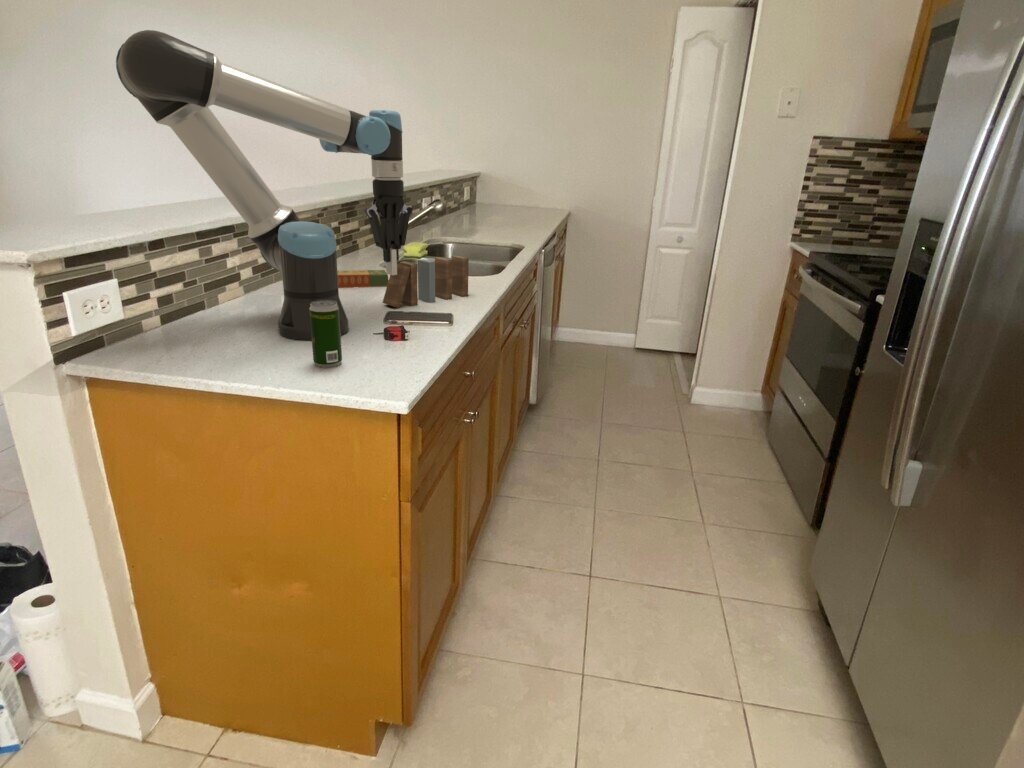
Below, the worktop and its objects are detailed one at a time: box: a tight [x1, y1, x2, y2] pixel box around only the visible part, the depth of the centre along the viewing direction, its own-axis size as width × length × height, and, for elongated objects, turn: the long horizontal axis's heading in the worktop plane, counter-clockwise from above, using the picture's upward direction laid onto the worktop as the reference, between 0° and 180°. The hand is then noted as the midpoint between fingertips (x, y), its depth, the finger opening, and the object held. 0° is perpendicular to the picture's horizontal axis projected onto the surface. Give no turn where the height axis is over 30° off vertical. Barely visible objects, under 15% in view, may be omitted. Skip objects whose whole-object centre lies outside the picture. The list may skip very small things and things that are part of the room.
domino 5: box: [451, 255, 470, 298], centre depth 179 cm, size 2×5×11 cm, turn 45°
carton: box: [337, 269, 389, 289], centre depth 188 cm, size 8×16×4 cm, turn 108°
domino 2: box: [399, 260, 419, 307], centre depth 167 cm, size 2×5×11 cm, turn 45°
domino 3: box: [417, 258, 436, 304], centre depth 171 cm, size 2×5×11 cm, turn 45°
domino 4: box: [434, 256, 453, 301], centre depth 175 cm, size 2×5×11 cm, turn 45°
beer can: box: [309, 300, 343, 369], centre depth 119 cm, size 5×5×12 cm
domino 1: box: [382, 263, 411, 309], centre depth 164 cm, size 2×5×11 cm, turn 45°
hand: (391, 274), depth 162 cm, fingers closed
